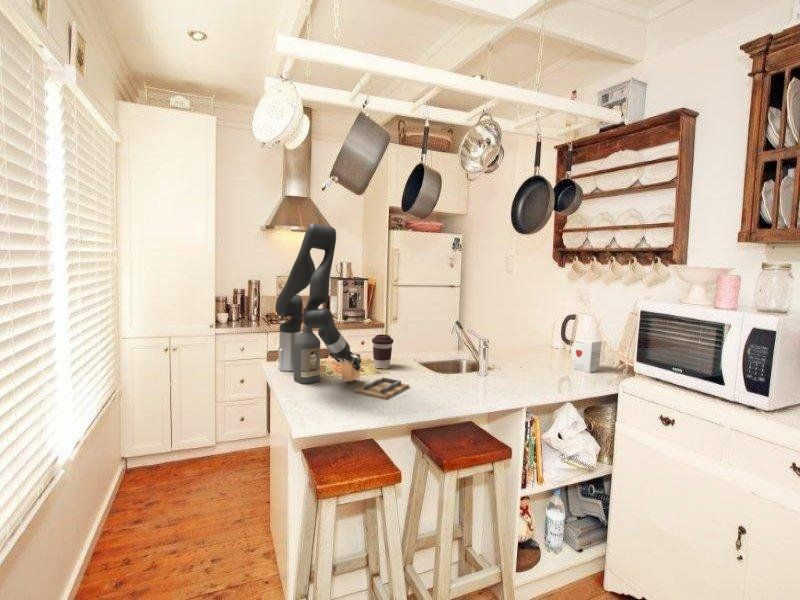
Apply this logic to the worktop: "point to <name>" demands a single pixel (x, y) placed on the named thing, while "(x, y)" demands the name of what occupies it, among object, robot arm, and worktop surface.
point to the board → (382, 388)
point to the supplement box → (587, 355)
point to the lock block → (349, 371)
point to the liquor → (306, 357)
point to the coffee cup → (382, 350)
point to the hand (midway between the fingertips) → (353, 367)
